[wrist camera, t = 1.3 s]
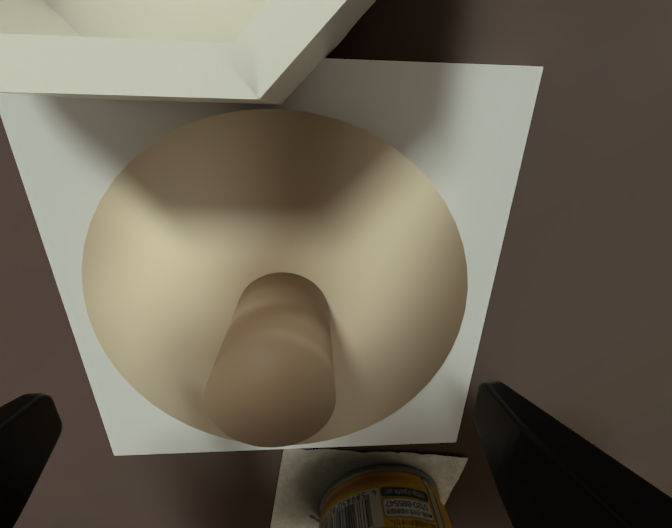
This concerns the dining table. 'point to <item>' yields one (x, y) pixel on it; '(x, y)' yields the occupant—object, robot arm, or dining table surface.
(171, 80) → the bowl
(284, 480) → the condiment
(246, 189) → the lid
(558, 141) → the dining table surface
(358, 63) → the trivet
